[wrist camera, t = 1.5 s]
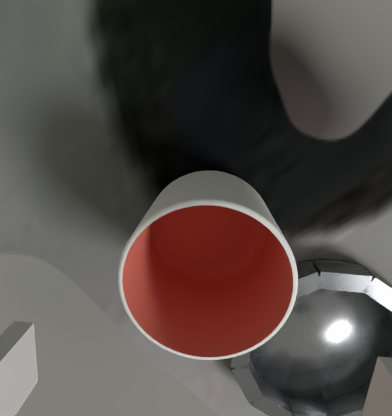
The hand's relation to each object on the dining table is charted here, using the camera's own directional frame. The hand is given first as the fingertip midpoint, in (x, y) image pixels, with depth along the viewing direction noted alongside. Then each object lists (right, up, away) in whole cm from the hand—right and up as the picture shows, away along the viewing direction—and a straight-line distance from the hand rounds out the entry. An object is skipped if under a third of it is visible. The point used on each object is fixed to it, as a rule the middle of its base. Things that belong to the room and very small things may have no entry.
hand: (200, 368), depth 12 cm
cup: (+1, +5, +15) cm, 16 cm away
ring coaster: (+11, -6, +17) cm, 21 cm away
